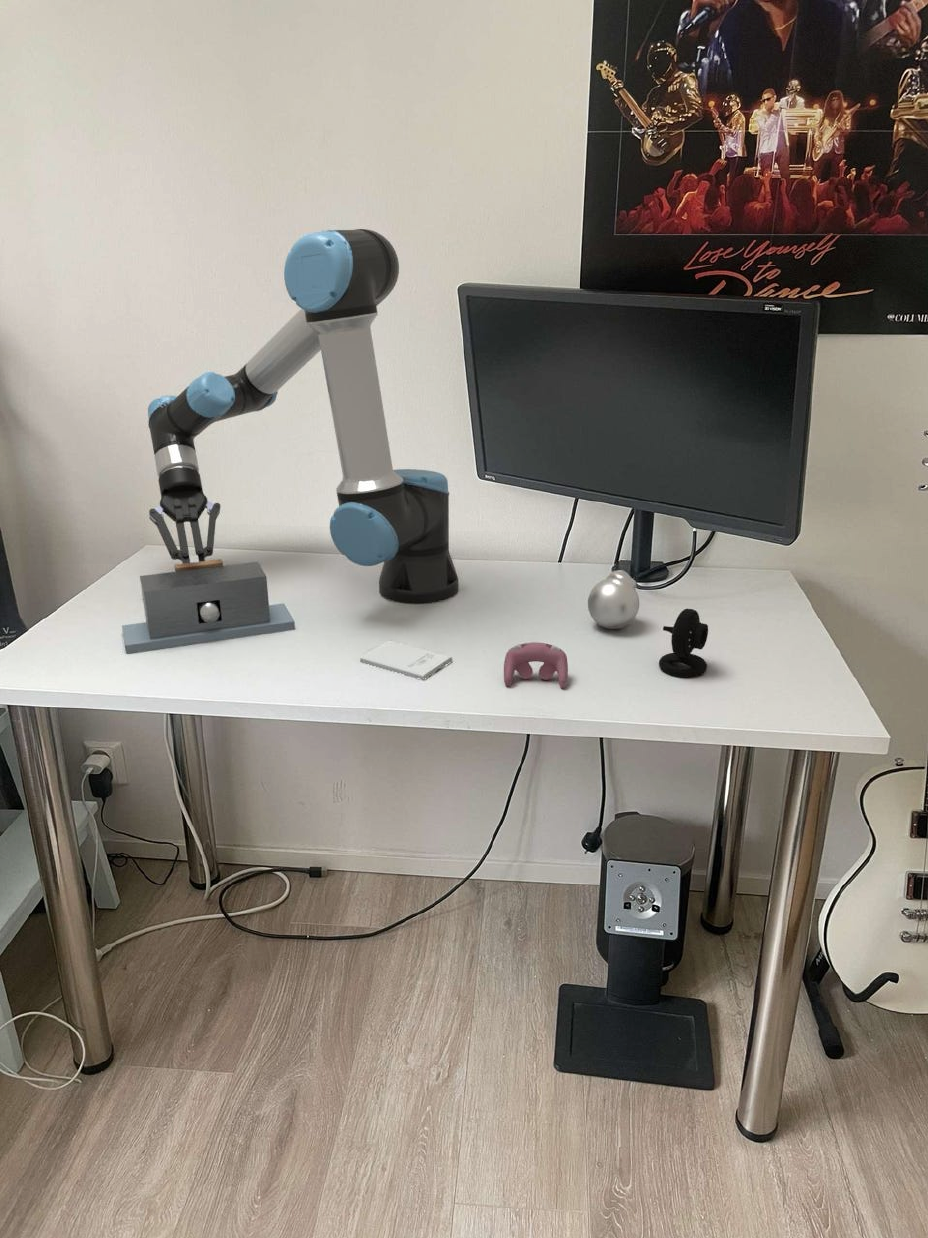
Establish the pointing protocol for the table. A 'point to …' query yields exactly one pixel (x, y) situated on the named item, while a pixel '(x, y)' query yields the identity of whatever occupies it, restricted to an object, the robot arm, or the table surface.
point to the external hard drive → (405, 659)
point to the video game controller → (536, 652)
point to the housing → (179, 593)
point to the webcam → (686, 645)
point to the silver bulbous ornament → (614, 601)
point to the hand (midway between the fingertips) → (199, 591)
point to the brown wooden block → (209, 607)
